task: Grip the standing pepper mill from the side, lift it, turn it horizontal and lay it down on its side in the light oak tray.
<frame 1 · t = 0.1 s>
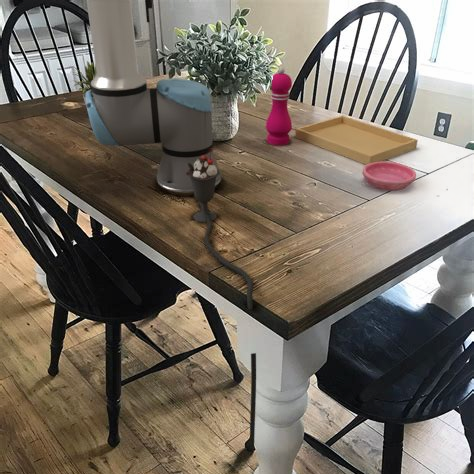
hand: (123, 22, 153), 28 cm above the table, tool pointing down, fingers open, 13 cm apart
sundae: (205, 217, 117), on the table
saucer: (387, 183, 131), on the table
pepper mill: (278, 142, 155), on the table
tray: (354, 142, 154), on the table
house plant: (94, 114, 176), on the table
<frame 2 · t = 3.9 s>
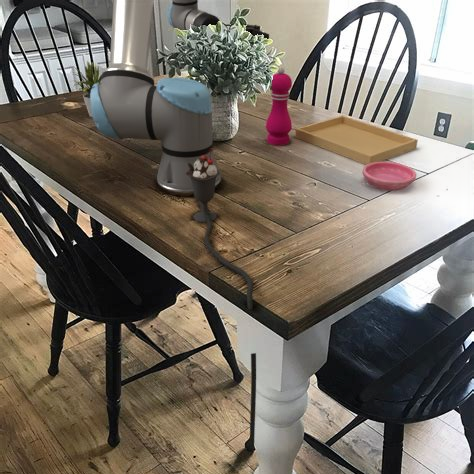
hand: (248, 45, 147), 24 cm above the table, tool horizontal, fingers open, 13 cm apart
nothing on the table moved.
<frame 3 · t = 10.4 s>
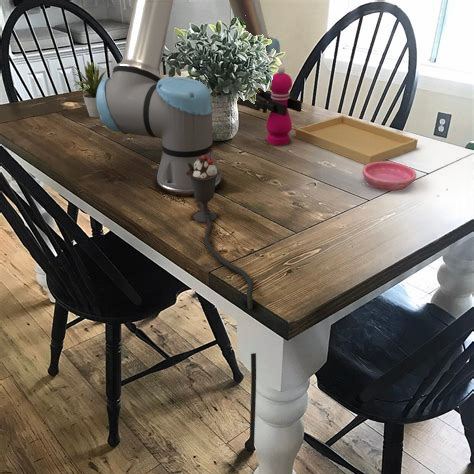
hand: (292, 108, 145), 10 cm above the table, tool horizontal, fingers closed on pepper mill, 5 cm apart
pepper mill: (278, 142, 155), on the table, touching gripper
everything else where it was.
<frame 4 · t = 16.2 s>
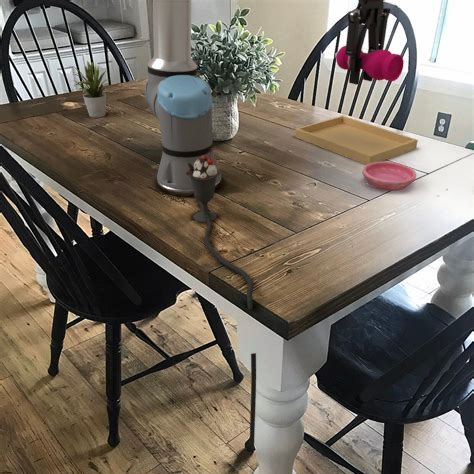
hand: (360, 81, 145), 17 cm above the table, tool pointing down, fingers closed on pepper mill, 5 cm apart
pepper mill: (396, 68, 135), point 22 cm above the table, touching gripper
everything else where it was.
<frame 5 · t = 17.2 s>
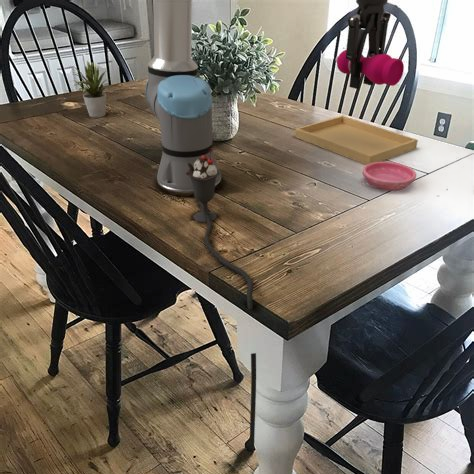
hand: (361, 85, 145), 15 cm above the table, tool pointing down, fingers closed on pepper mill, 5 cm apart
pepper mill: (396, 72, 135), point 21 cm above the table, touching gripper
everything else where it was.
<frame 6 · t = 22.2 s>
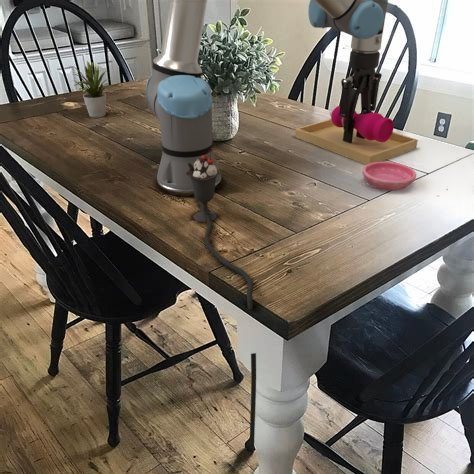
hand: (354, 139, 153), 1 cm above the table, tool pointing down, fingers closed on pepper mill, 5 cm apart
pepper mill: (386, 131, 144), point 6 cm above the table, touching gripper
everything else where it was.
when the fingers open (2 cm above the table, at t = 24.1 s): pepper mill drops 2 cm, resting on tray.
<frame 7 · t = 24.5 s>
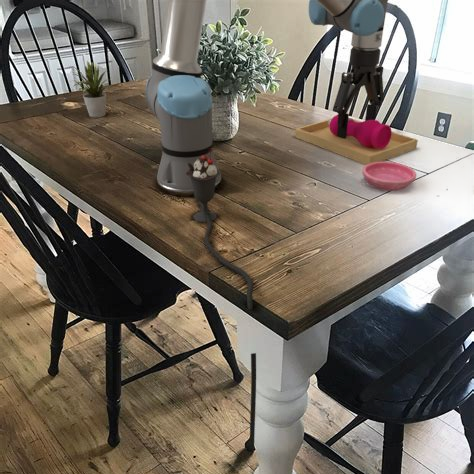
hand: (355, 132, 152), 3 cm above the table, tool pointing down, fingers open, 11 cm apart
pepper mill: (384, 137, 145), point 4 cm above the table, touching tray
everything else where it was.
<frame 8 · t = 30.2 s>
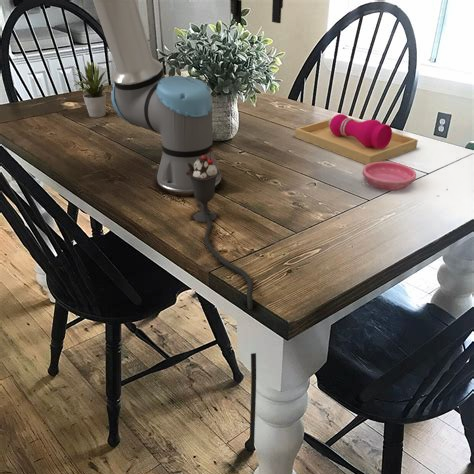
hand: (257, 25, 145), 29 cm above the table, tool pointing down, fingers open, 13 cm apart
nothing on the table moved.
at the end: pepper mill tilted 93°; pepper mill inside the target area on the tray (10.2 cm from its centre), point 4.3 cm above the tray's base; pepper mill touching tray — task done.
